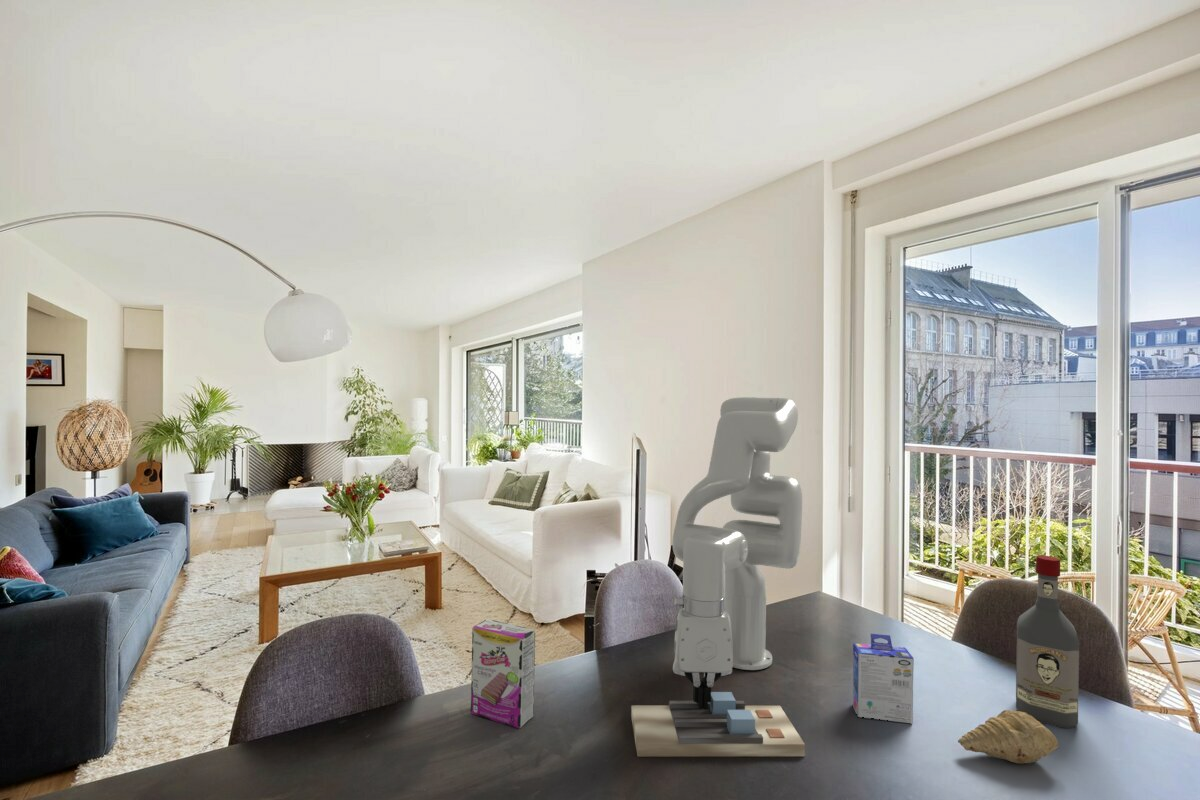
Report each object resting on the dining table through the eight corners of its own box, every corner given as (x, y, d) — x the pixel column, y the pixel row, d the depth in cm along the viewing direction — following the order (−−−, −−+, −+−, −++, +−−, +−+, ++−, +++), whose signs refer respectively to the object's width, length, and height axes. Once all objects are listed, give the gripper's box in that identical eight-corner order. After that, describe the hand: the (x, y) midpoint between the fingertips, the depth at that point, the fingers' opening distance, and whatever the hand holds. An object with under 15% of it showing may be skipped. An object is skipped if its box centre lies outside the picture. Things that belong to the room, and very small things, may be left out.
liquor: (1015, 696, 116) (1018, 549, 116) (1073, 711, 110) (1076, 557, 110) (1016, 716, 108) (1019, 559, 108) (1078, 733, 103) (1081, 567, 103)
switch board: (631, 716, 106) (631, 700, 106) (779, 716, 107) (780, 700, 107) (637, 756, 94) (637, 738, 94) (804, 756, 95) (805, 738, 95)
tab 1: (709, 708, 105) (709, 692, 105) (731, 708, 105) (731, 692, 105) (713, 717, 102) (713, 700, 102) (735, 717, 102) (735, 700, 102)
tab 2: (726, 727, 99) (727, 709, 99) (749, 727, 99) (749, 709, 99) (731, 737, 96) (731, 719, 96) (754, 737, 96) (755, 719, 96)
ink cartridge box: (905, 709, 110) (906, 634, 110) (915, 725, 105) (916, 646, 105) (850, 703, 112) (852, 629, 112) (857, 718, 107) (858, 641, 107)
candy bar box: (469, 715, 105) (470, 626, 105) (485, 702, 110) (486, 617, 110) (520, 731, 100) (521, 638, 101) (535, 716, 105) (536, 628, 105)
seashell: (980, 777, 90) (981, 726, 90) (946, 745, 98) (947, 699, 98) (1063, 775, 91) (1064, 725, 91) (1023, 745, 99) (1023, 699, 99)
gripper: (665, 612, 99) (663, 716, 99) (750, 612, 100) (748, 717, 100) (659, 597, 107) (658, 694, 107) (738, 597, 107) (737, 695, 107)
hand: (701, 705), depth 103 cm, fingers closed
